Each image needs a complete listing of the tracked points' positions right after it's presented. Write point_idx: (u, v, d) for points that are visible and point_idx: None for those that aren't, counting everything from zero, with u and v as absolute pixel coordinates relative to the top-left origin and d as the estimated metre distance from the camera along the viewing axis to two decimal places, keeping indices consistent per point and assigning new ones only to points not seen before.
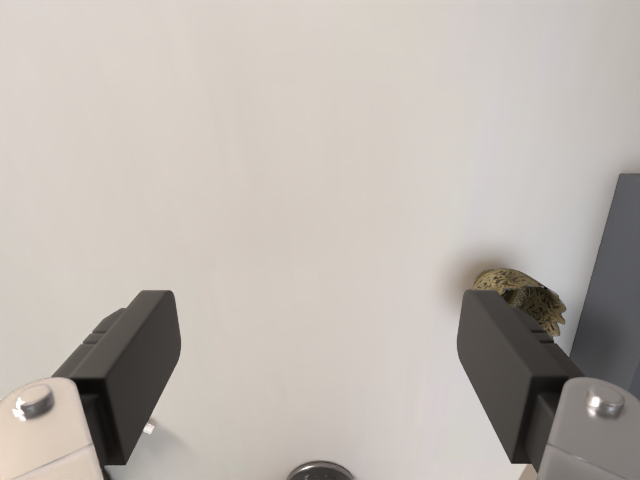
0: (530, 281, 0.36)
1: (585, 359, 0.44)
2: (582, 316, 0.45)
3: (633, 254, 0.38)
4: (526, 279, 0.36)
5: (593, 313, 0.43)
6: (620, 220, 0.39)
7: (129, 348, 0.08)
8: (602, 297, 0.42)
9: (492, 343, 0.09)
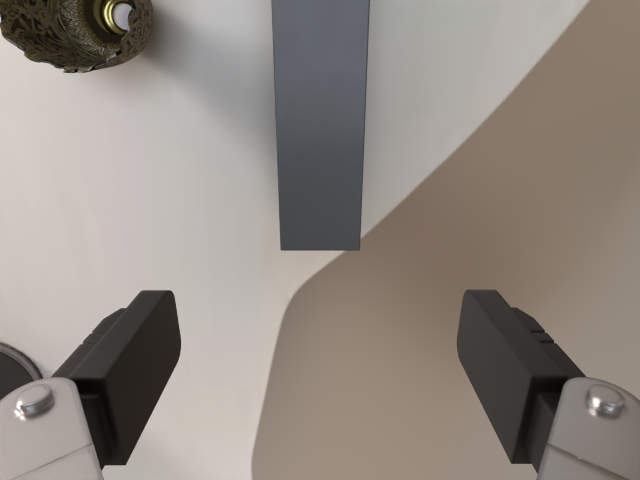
0: None
1: None
2: None
3: None
4: None
5: None
6: None
7: (129, 348, 0.08)
8: None
9: (492, 343, 0.09)
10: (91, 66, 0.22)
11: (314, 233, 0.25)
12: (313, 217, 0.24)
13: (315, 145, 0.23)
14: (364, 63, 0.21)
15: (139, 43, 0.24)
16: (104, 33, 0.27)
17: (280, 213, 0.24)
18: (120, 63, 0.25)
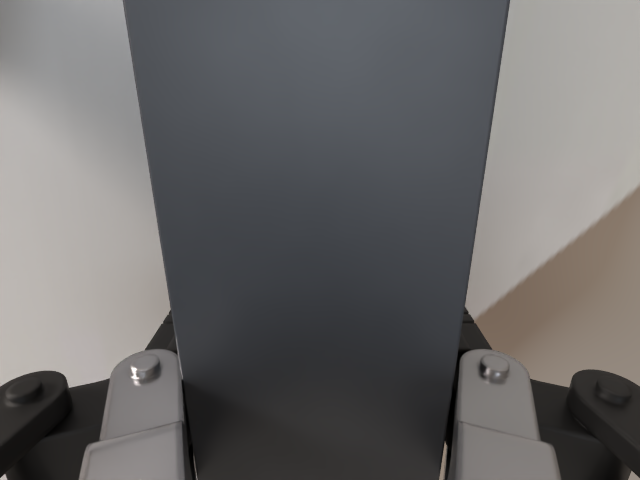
0: None
1: None
2: None
3: None
4: None
5: None
6: None
7: None
8: None
9: None
10: None
11: None
12: None
13: (301, 299, 0.07)
14: (500, 4, 0.05)
15: None
16: None
17: (199, 475, 0.08)
18: None
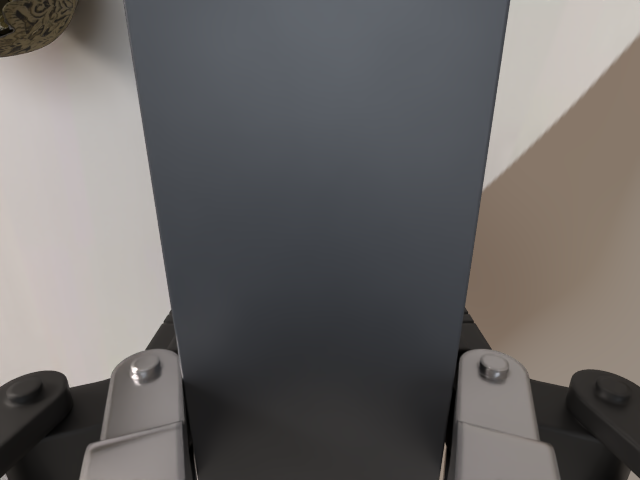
0: None
1: None
2: None
3: None
4: None
5: None
6: None
7: None
8: None
9: None
10: None
11: None
12: None
13: (301, 299, 0.07)
14: (500, 3, 0.05)
15: (49, 19, 0.16)
16: None
17: (199, 474, 0.08)
18: (25, 50, 0.17)
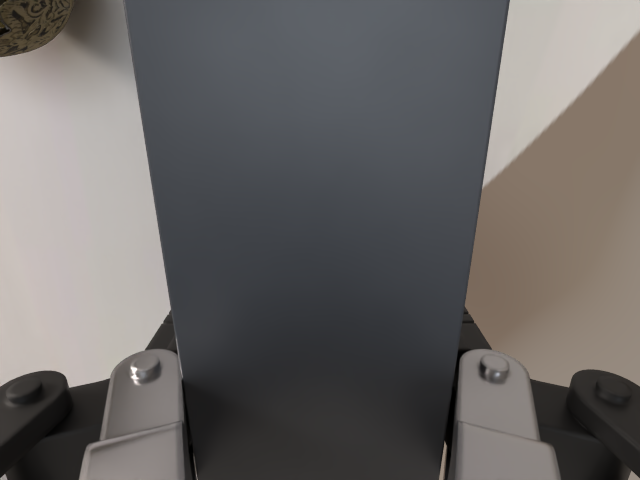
0: None
1: None
2: None
3: None
4: None
5: None
6: None
7: None
8: None
9: None
10: None
11: None
12: None
13: (301, 298, 0.07)
14: (500, 3, 0.05)
15: (46, 19, 0.16)
16: None
17: (199, 474, 0.08)
18: (21, 50, 0.17)
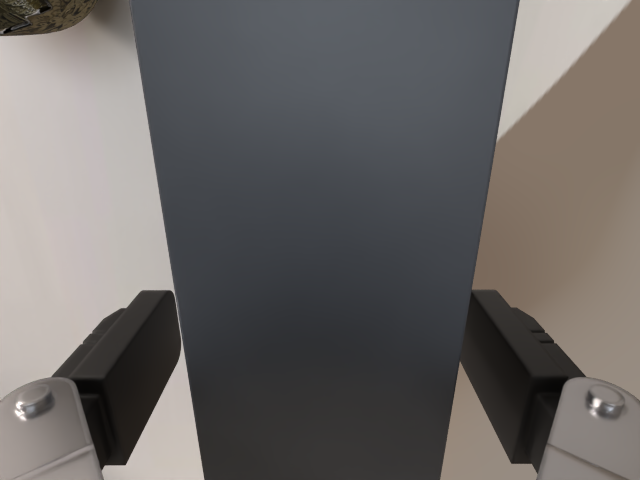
0: None
1: None
2: None
3: None
4: None
5: None
6: None
7: (129, 348, 0.08)
8: None
9: (492, 343, 0.09)
10: (6, 28, 0.16)
11: (303, 469, 0.08)
12: (301, 432, 0.08)
13: (304, 227, 0.06)
14: None
15: (80, 0, 0.18)
16: None
17: (198, 422, 0.08)
18: (57, 28, 0.18)
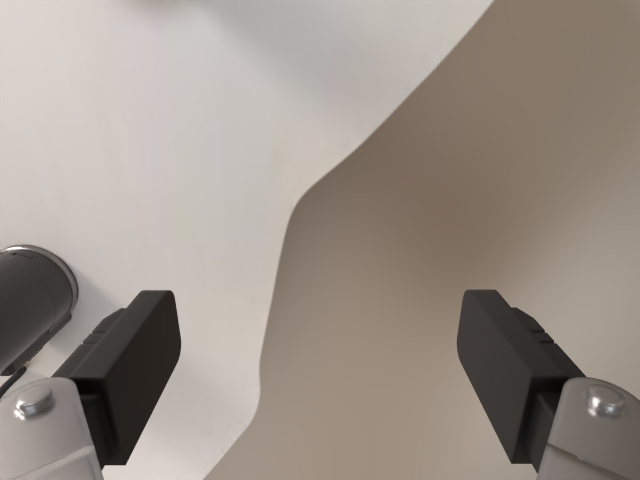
0: None
1: None
2: None
3: None
4: None
5: None
6: None
7: (129, 348, 0.08)
8: None
9: (492, 343, 0.09)
10: None
11: None
12: None
13: None
14: None
15: None
16: None
17: None
18: None
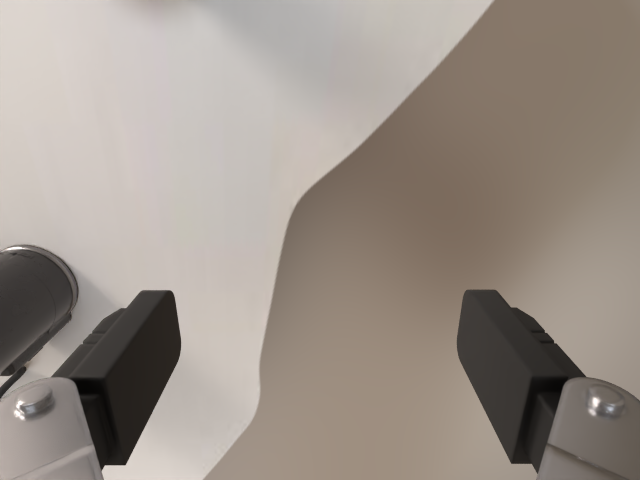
0: None
1: None
2: None
3: None
4: None
5: None
6: None
7: (129, 348, 0.08)
8: None
9: (492, 343, 0.09)
10: None
11: None
12: None
13: None
14: None
15: None
16: None
17: None
18: None
